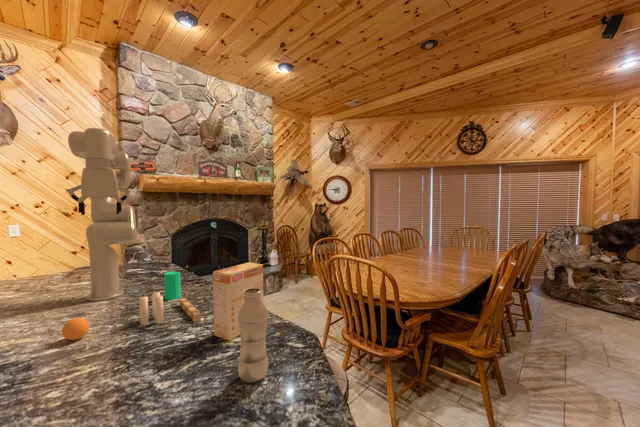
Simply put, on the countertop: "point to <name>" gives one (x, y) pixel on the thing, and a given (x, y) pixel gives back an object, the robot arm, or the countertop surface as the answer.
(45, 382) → the countertop surface
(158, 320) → the back pin near
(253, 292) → the plastic bottle
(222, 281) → the coffeecake box
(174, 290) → the candle
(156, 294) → the back pin far
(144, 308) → the front pin
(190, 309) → the back wall
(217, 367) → the countertop surface
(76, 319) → the ball
